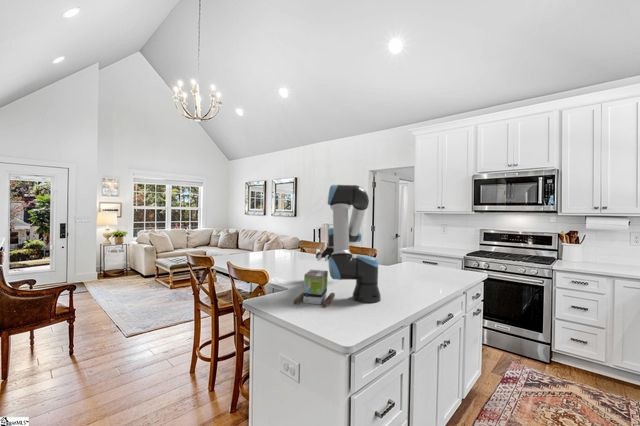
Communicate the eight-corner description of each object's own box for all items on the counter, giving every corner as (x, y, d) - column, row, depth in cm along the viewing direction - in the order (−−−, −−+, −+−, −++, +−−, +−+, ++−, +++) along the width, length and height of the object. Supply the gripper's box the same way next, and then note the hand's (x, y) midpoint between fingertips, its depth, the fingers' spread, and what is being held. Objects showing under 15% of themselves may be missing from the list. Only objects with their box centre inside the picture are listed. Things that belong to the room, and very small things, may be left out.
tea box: (322, 304, 155) (322, 275, 155) (302, 303, 157) (303, 274, 157) (327, 296, 170) (327, 269, 169) (309, 295, 172) (310, 268, 171)
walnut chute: (334, 296, 170) (334, 292, 170) (326, 307, 150) (326, 303, 150) (305, 293, 174) (305, 290, 174) (293, 304, 155) (293, 300, 155)
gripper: (343, 259, 196) (336, 266, 173) (317, 258, 200) (307, 264, 177) (343, 247, 196) (336, 252, 173) (318, 246, 200) (307, 251, 177)
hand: (321, 258), depth 175 cm, fingers open, 4 cm apart
